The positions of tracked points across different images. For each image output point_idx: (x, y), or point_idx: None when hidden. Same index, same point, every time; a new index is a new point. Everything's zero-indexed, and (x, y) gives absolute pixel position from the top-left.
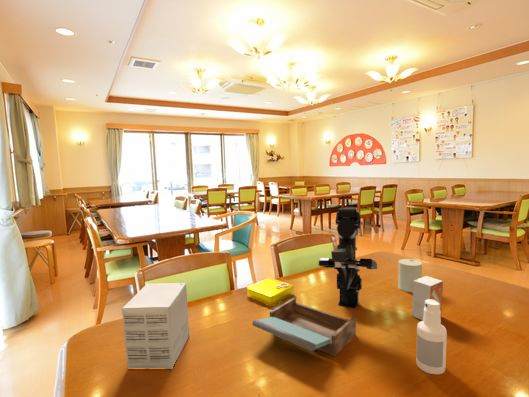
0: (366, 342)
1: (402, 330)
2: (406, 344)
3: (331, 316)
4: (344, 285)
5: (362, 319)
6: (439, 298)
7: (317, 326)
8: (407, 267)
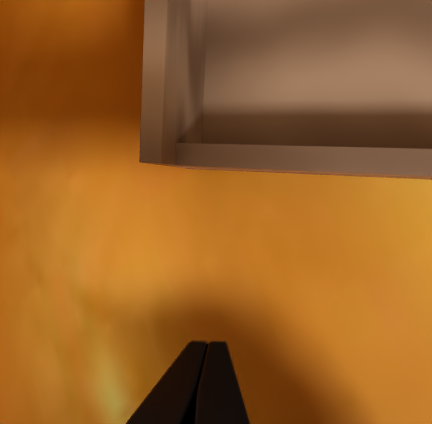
0: (127, 142)
1: (41, 336)
2: (3, 229)
3: (338, 148)
4: (219, 381)
5: None
6: None
7: (419, 86)
8: None
